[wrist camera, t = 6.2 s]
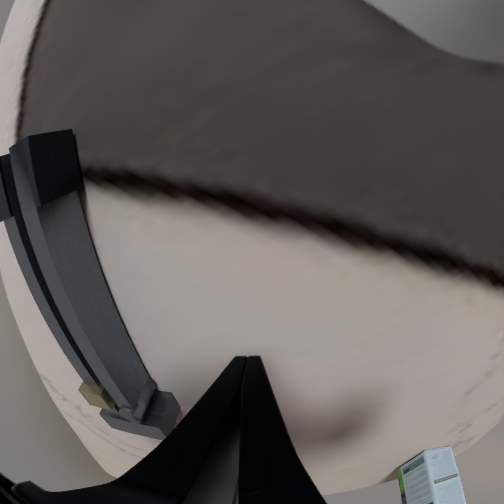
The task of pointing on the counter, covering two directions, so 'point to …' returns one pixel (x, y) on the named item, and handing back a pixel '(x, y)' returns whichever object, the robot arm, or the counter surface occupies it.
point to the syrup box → (431, 479)
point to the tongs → (161, 403)
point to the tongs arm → (76, 266)
